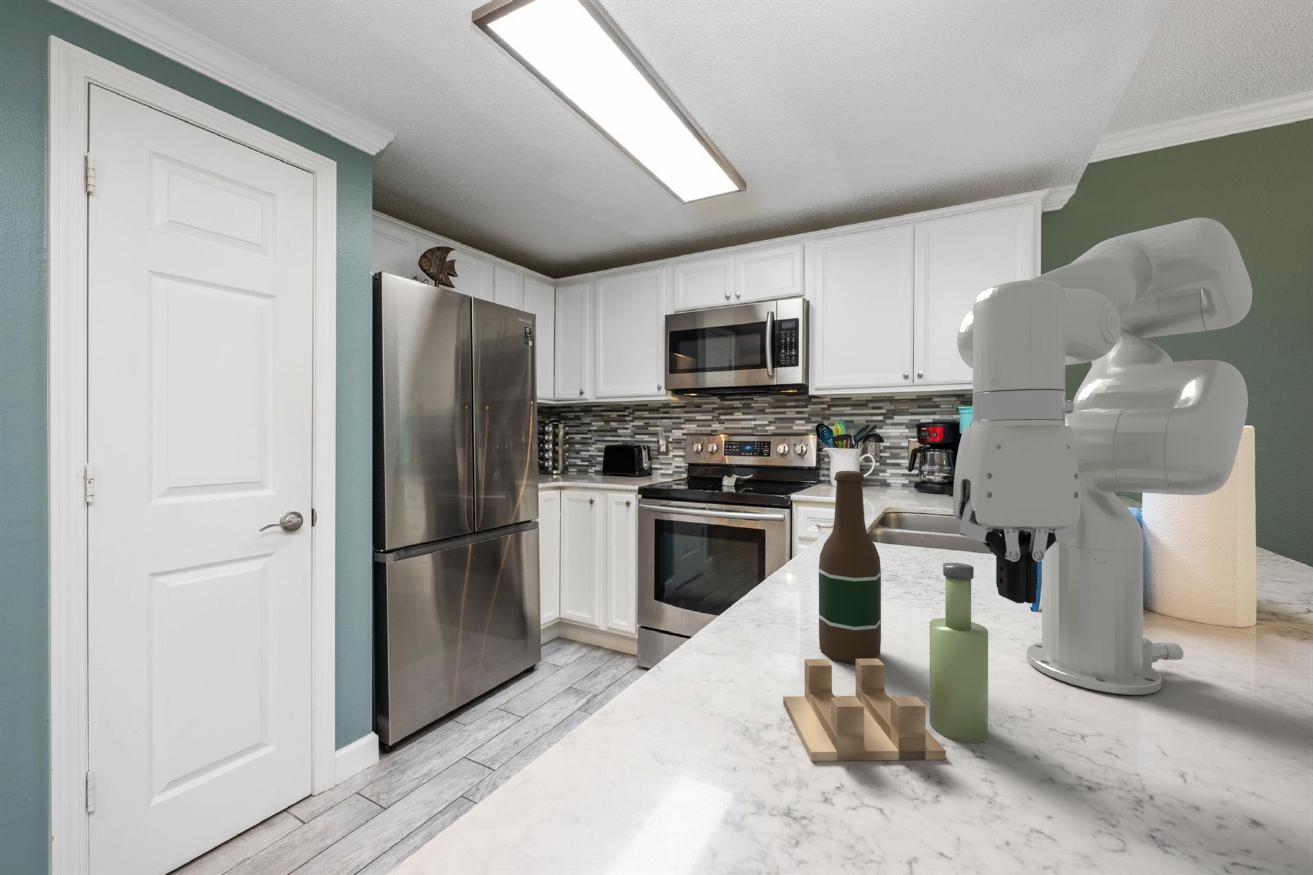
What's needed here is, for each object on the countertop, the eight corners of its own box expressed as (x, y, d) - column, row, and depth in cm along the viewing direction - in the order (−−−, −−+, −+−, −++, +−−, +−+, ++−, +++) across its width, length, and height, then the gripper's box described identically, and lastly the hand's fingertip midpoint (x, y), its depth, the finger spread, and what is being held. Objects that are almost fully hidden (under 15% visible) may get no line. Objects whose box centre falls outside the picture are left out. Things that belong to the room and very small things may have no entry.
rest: (894, 702, 58) (894, 658, 57) (945, 759, 48) (945, 705, 47) (783, 703, 57) (783, 659, 57) (811, 760, 47) (811, 706, 47)
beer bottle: (887, 668, 66) (887, 474, 66) (821, 663, 67) (821, 473, 67) (875, 644, 74) (874, 469, 73) (816, 639, 75) (815, 469, 75)
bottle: (968, 714, 55) (968, 559, 55) (1000, 742, 50) (1000, 572, 50) (920, 715, 55) (920, 559, 55) (947, 743, 50) (946, 572, 50)
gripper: (1062, 413, 56) (1062, 588, 56) (921, 413, 56) (921, 588, 56) (1126, 410, 49) (1125, 611, 49) (964, 409, 48) (963, 612, 49)
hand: (1016, 598), depth 52 cm, fingers closed
